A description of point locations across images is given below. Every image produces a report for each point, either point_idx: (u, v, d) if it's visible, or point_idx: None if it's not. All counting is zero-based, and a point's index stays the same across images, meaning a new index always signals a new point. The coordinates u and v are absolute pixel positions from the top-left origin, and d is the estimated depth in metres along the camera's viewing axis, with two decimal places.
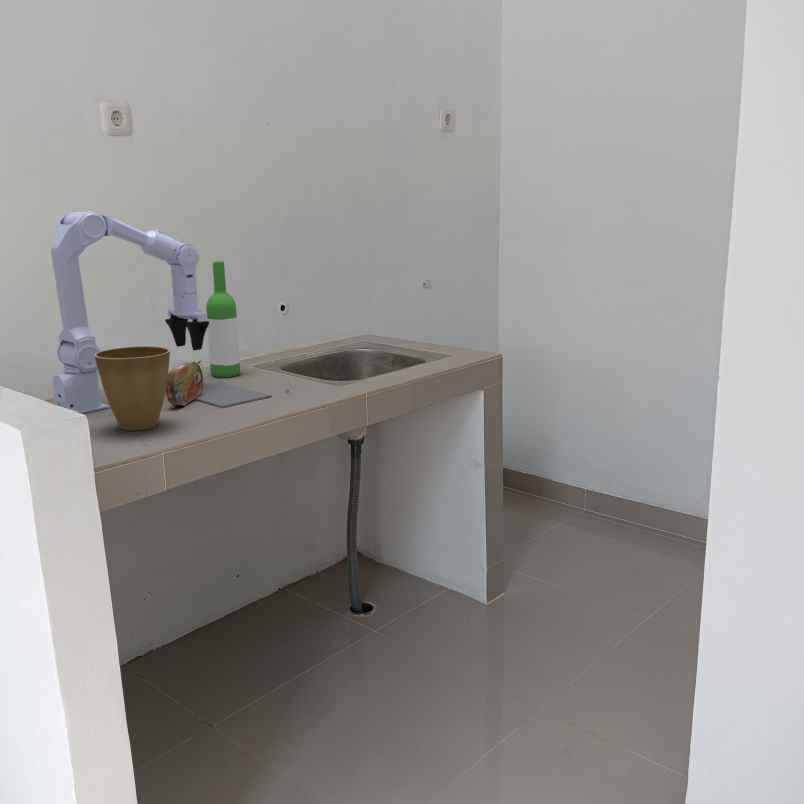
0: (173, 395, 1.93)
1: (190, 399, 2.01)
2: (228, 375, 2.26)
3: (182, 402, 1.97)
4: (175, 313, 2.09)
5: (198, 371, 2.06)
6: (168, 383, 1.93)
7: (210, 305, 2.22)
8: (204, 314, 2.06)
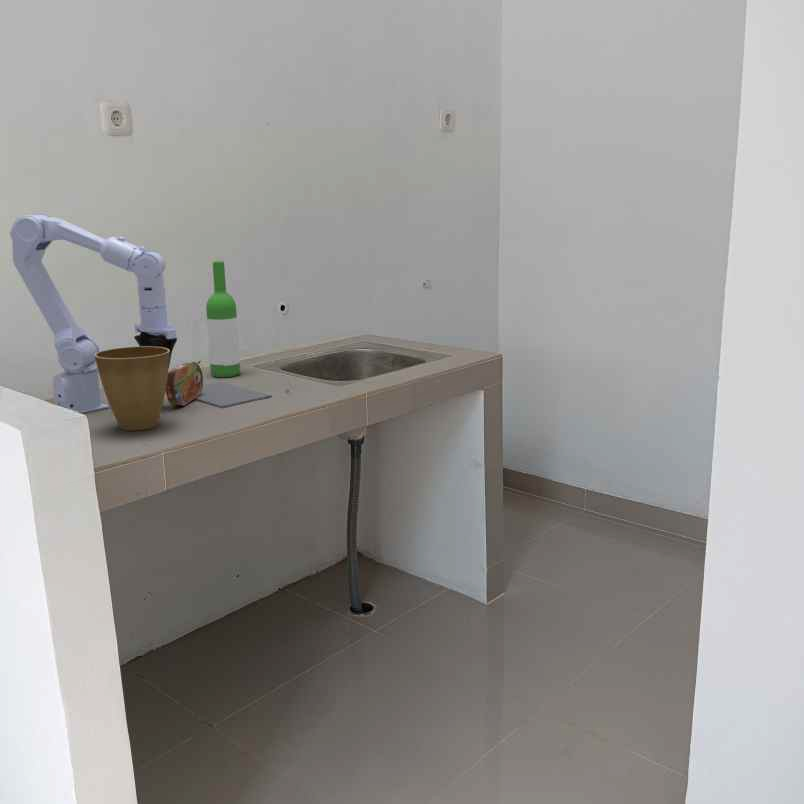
0: (173, 395, 1.93)
1: (190, 399, 2.01)
2: (228, 375, 2.26)
3: (182, 402, 1.97)
4: (142, 329, 1.90)
5: (198, 371, 2.06)
6: (168, 383, 1.93)
7: (210, 305, 2.22)
8: (173, 330, 1.88)
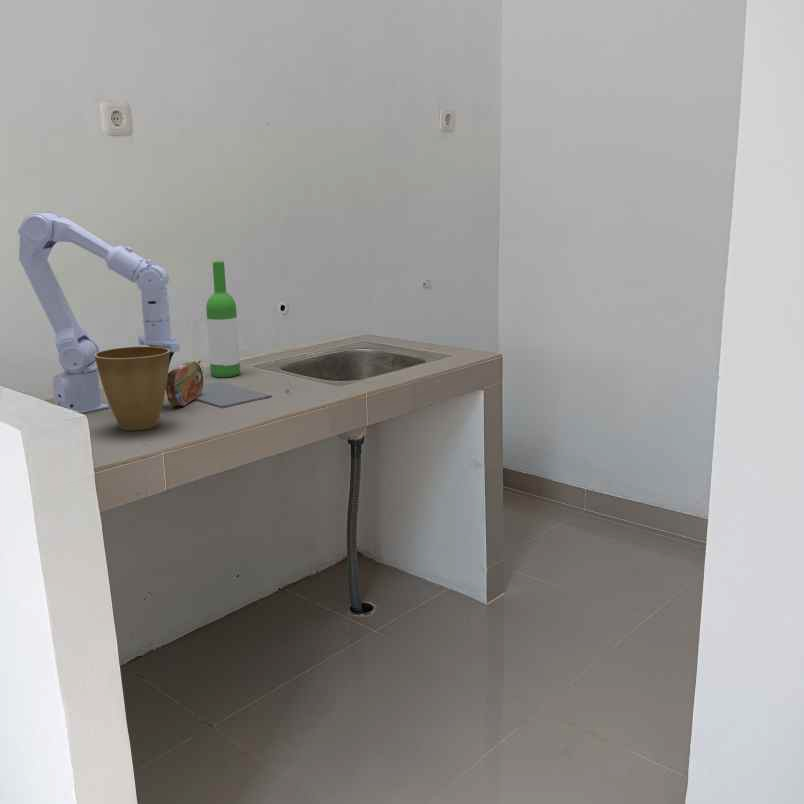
0: (173, 396, 1.93)
1: (190, 399, 2.01)
2: (228, 375, 2.26)
3: (182, 402, 1.97)
4: (146, 342, 1.92)
5: (198, 371, 2.06)
6: (168, 383, 1.93)
7: (210, 305, 2.22)
8: (177, 344, 1.89)
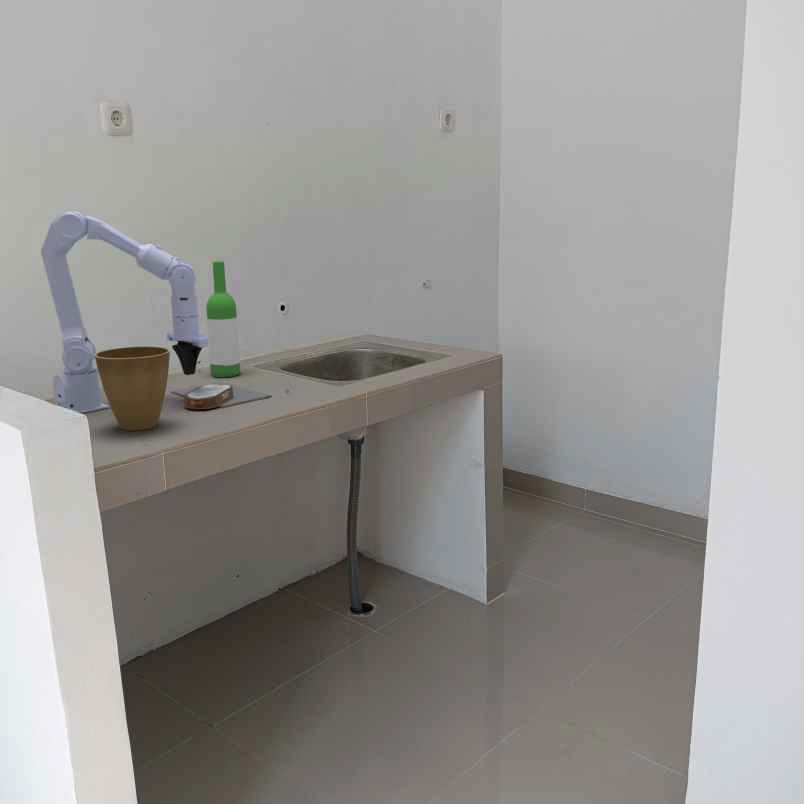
0: (192, 406, 1.93)
1: None
2: (228, 375, 2.26)
3: None
4: (175, 338, 1.97)
5: None
6: (204, 402, 1.93)
7: (210, 305, 2.22)
8: (205, 339, 1.94)
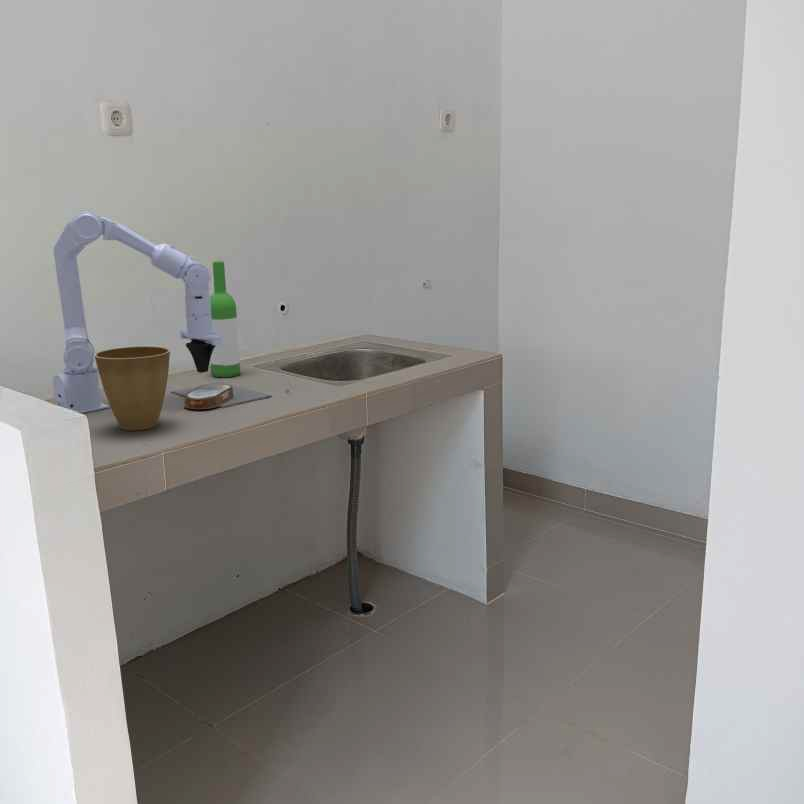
0: (192, 406, 1.93)
1: None
2: (228, 375, 2.26)
3: None
4: (188, 336, 1.99)
5: None
6: (204, 402, 1.93)
7: None
8: (219, 337, 1.96)
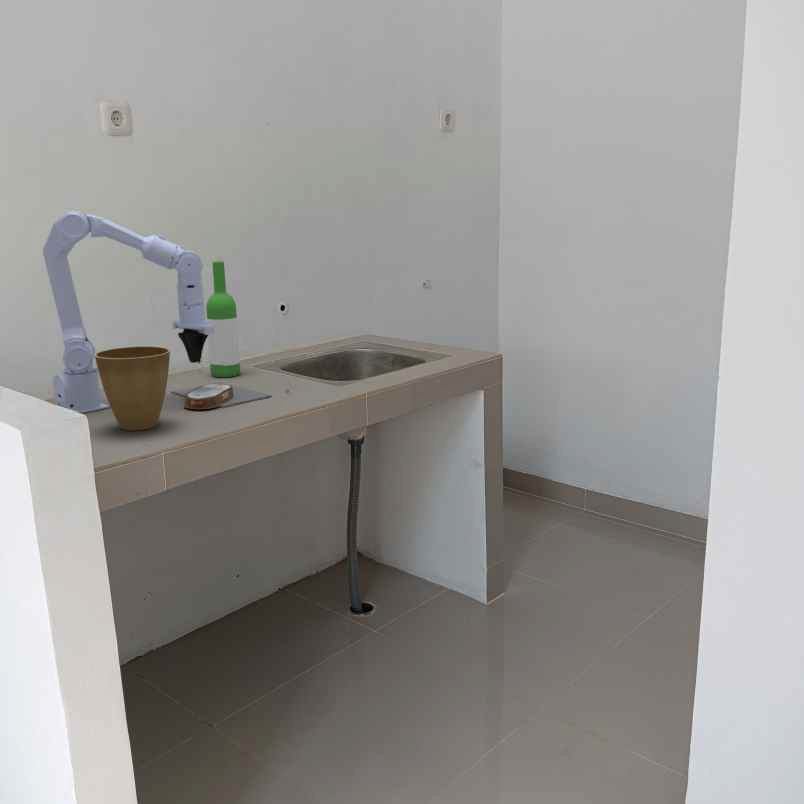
0: (192, 406, 1.93)
1: None
2: (228, 375, 2.26)
3: None
4: (181, 325, 1.97)
5: None
6: (204, 402, 1.93)
7: (210, 305, 2.22)
8: (212, 326, 1.95)
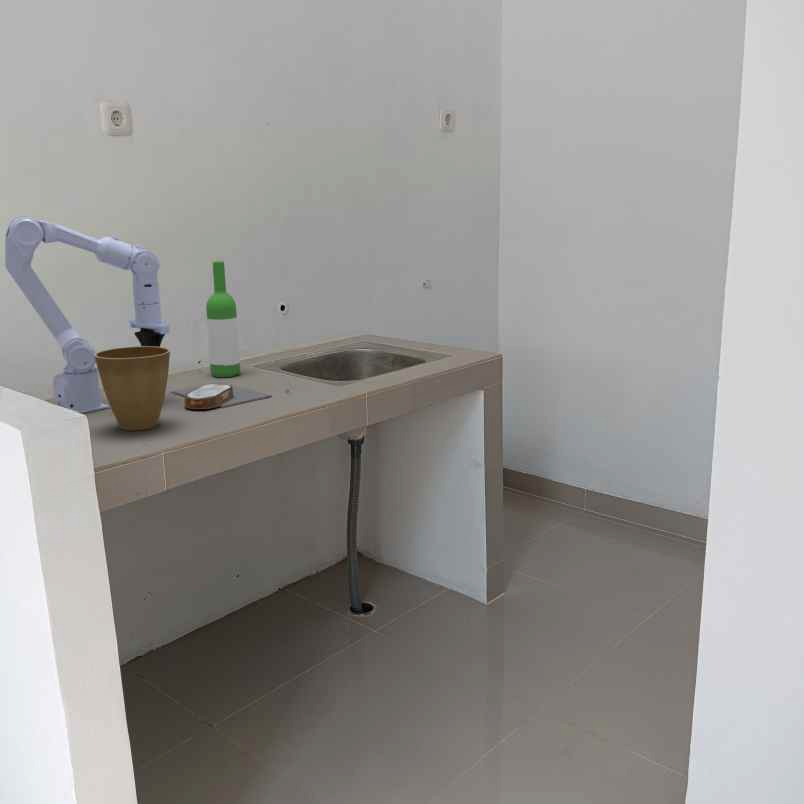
0: (192, 406, 1.93)
1: None
2: (228, 375, 2.26)
3: None
4: (137, 324, 1.97)
5: None
6: (204, 402, 1.93)
7: (210, 305, 2.22)
8: (167, 326, 1.94)
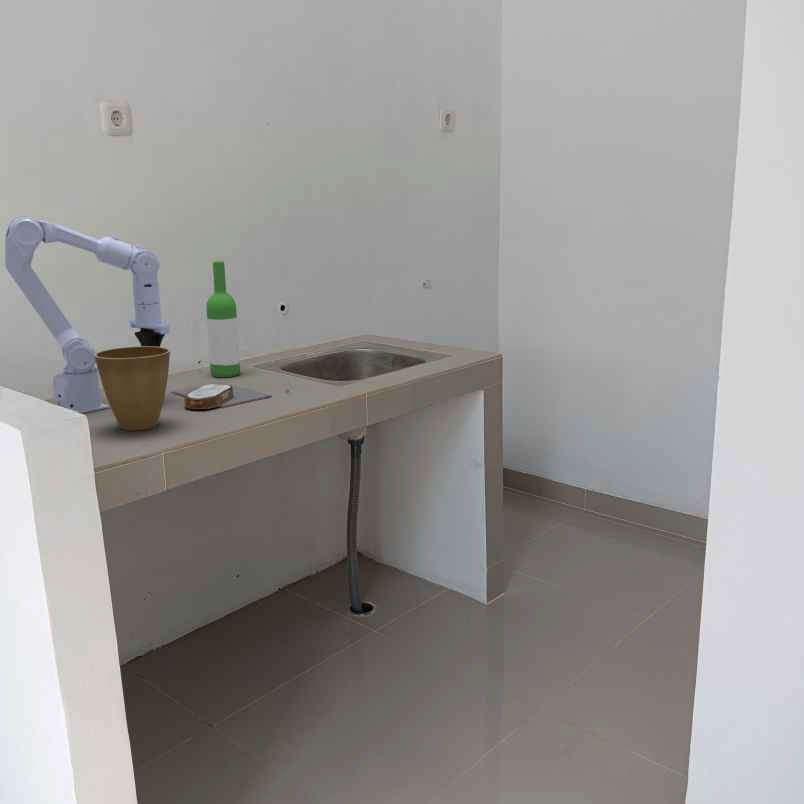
0: (192, 406, 1.93)
1: None
2: (228, 375, 2.26)
3: None
4: (137, 324, 1.97)
5: None
6: (204, 402, 1.93)
7: (210, 305, 2.22)
8: (167, 326, 1.94)
